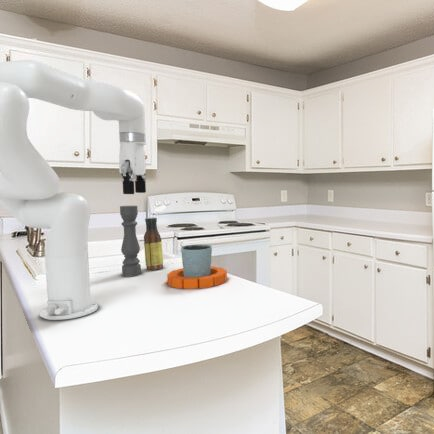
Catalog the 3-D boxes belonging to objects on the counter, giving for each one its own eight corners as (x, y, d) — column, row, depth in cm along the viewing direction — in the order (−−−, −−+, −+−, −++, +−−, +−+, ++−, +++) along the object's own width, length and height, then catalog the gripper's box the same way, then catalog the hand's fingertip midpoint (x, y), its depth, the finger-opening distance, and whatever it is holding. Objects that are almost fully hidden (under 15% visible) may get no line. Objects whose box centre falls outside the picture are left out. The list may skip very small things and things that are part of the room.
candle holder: (133, 277, 144) (130, 206, 142) (118, 276, 146) (115, 206, 143) (144, 273, 150) (141, 205, 148) (130, 272, 152) (127, 205, 149)
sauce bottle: (165, 266, 160) (164, 216, 158) (159, 270, 154) (157, 218, 152) (149, 266, 161) (147, 216, 158) (142, 270, 154) (139, 218, 152)
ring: (220, 288, 131) (220, 279, 130) (160, 289, 129) (159, 279, 129) (230, 274, 150) (230, 266, 149) (177, 274, 148) (177, 266, 148)
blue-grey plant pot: (198, 276, 146) (197, 243, 145) (219, 280, 141) (218, 246, 140) (175, 282, 137) (174, 247, 136) (196, 286, 132) (195, 250, 131)
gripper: (131, 141, 137) (133, 192, 139) (108, 136, 120) (110, 194, 122) (154, 141, 138) (156, 192, 140) (134, 137, 121) (136, 194, 122)
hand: (135, 193), depth 131 cm, fingers open, 9 cm apart
